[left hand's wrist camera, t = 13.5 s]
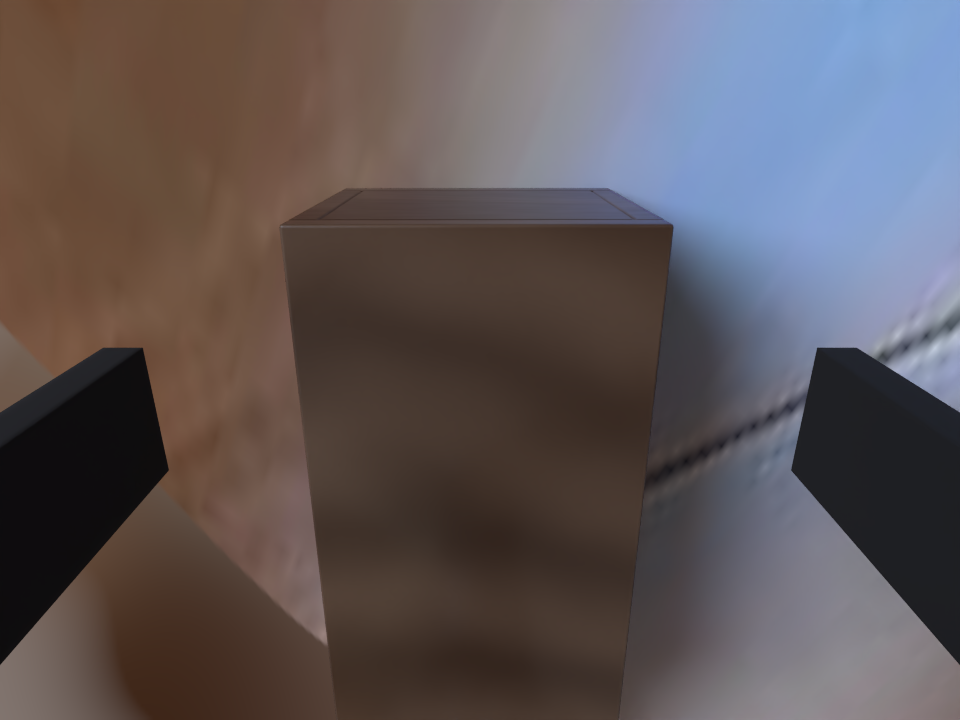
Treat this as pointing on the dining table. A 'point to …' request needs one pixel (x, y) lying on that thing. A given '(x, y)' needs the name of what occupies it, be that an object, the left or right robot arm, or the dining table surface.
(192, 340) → the dining table surface
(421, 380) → the cabinet
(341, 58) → the dining table surface
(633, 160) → the dining table surface
